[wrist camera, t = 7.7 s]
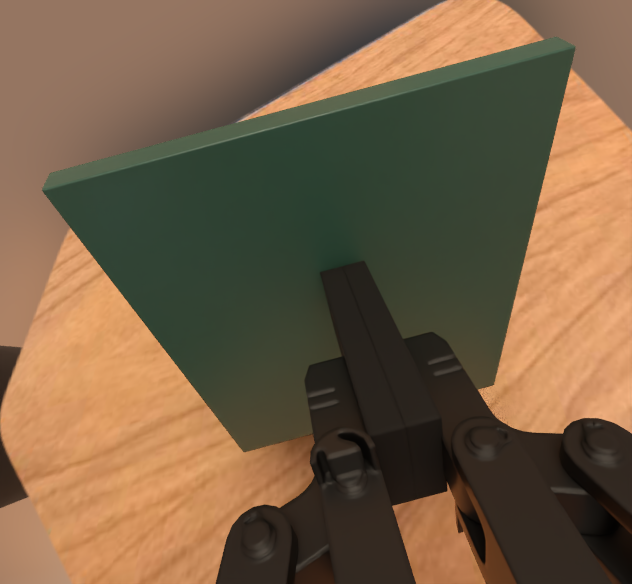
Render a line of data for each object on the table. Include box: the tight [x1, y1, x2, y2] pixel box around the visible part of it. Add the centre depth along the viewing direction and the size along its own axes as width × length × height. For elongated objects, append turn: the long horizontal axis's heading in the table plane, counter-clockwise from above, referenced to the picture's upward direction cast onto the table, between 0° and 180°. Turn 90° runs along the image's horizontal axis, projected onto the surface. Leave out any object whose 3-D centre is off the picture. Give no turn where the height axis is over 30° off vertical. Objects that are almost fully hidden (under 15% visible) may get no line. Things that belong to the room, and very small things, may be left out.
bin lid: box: [42, 37, 575, 452], centre depth 17 cm, size 16×14×1 cm
